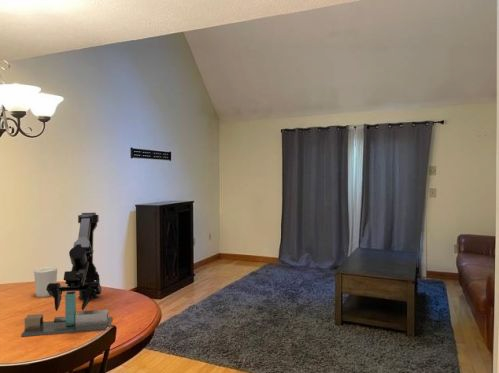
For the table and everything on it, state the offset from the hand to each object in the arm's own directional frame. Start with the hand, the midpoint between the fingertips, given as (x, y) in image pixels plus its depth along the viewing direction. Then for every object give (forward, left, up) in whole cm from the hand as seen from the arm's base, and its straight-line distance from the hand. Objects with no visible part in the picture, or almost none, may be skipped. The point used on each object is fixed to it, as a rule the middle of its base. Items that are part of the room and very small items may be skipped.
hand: (69, 309), depth 138 cm
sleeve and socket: (-1, -1, -7) cm, 7 cm away
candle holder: (-13, -47, -7) cm, 50 cm away
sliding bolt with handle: (-4, +1, -6) cm, 7 cm away
